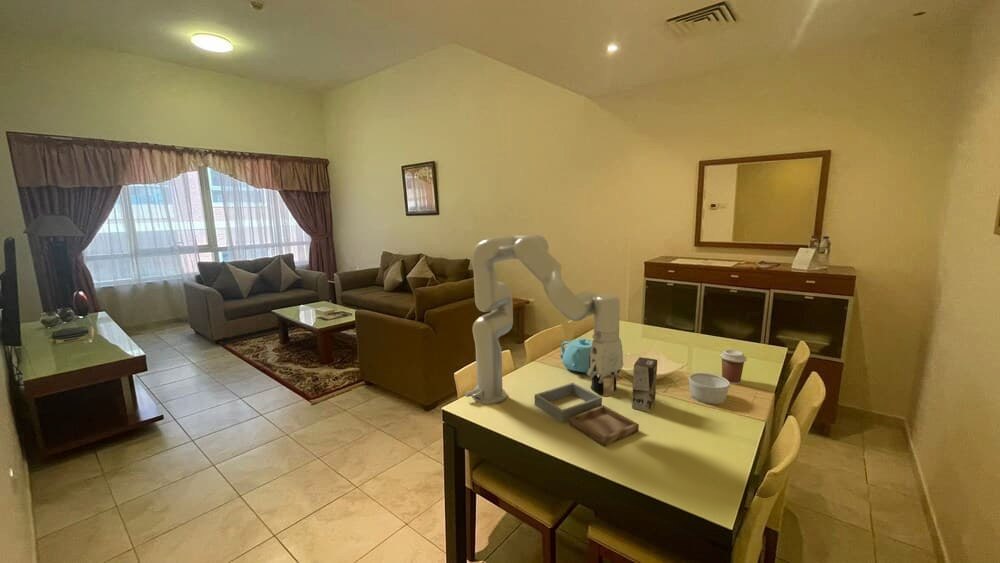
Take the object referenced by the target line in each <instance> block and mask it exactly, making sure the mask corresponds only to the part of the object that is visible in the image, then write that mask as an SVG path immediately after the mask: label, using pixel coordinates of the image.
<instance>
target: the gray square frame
mask: <svg viewBox="0 0 1000 563" xmlns="http://www.w3.org/2000/svg"><path fill="white" fill-rule="evenodd" d="M571 395H573V396H574V397H577V398H579V399H580V400H583V401H584V402H581V403H578V404H575V405H572V406H569V407H567V408H564V409H562V408H560V407H558V406H557V405H556V404H554V403H552V402H553V401H555V400H559V399H563V398H565V397H568V396H571ZM602 405H603V397H602V396H599V395H598V394H597V393H595V392H594V393H593V392H592V391H590V390H588V389H586V388H584V387H582V386H580V385H579V384H576V383H574V382H570V383H567V384H564V385H560V386H559V387H555V388H551V389H548V390H545V391H541V392H539V393H535V394H534V406H535V407H537V408H538V409H540V410H541V411H542V412H544V413H546V414H547V415H548V416H551V417H552V418H553V419H555V420H557V421H558V423H559V422H560V423H561V424H565V423H567V422H570V417H573V416H575V415H578V414H581V413H583V412H586V411H589V410H591V409H594V408H597V407H599V406H602Z"/></svg>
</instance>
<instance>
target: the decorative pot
mask: <svg viewBox="0 0 1000 563" xmlns="http://www.w3.org/2000/svg"><path fill="white" fill-rule="evenodd" d="M592 342H593V340H591V339H588V338H587V339H586V338H583V337H579V338H577V339H572V340H571V341H568V340H567V341H566V340H565V341H562V343H561V345H560V350H561V354H560V356H559V357H560V359H561V360H562V364H563V365H564V367H565V368H566V369H568V370H569V371H570V372H580V373H582V374H584V373H587V372H588V370H589V356H590V355H591V347H592ZM565 344H566V348H565Z"/></svg>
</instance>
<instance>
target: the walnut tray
mask: <svg viewBox="0 0 1000 563" xmlns="http://www.w3.org/2000/svg"><path fill="white" fill-rule="evenodd" d="M569 425H570V426H571V427H573V429H575V430H577V431H579V432H580V433H582V434H583V435H585V436H586V437H588V438H590V439H592V440H593V441H594V442H596V443H597V444H599V445H600V446H602V447H604V448H605V447H608V446H610V445H611V444H612V445H613V443H616V442H619V441H620V440H623V439H625V438H627V437H630V436H632V435H634V434H637V433H639V431H640V430H639V428H640V424H639V423H637V422H635V421H634V420H631V419H630V418H628V417H626V416H624V415H623V414H620V413H618V412H617V411H616V410H613V409H611V408H609V407H608V406H605V405H604V404H602V406H599V407H597V408H594V409H591V410H589V411H586V412H583V413H581V414H578V415H575V416H573V417H570V421H569Z"/></svg>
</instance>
